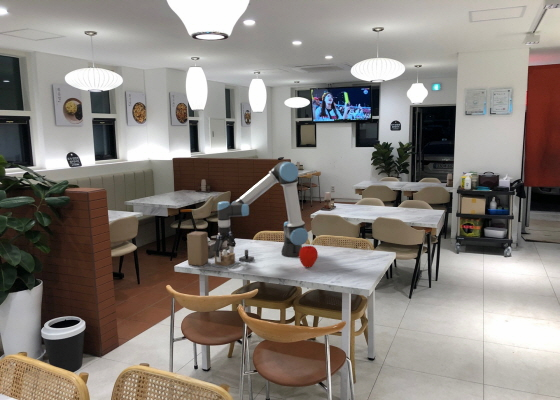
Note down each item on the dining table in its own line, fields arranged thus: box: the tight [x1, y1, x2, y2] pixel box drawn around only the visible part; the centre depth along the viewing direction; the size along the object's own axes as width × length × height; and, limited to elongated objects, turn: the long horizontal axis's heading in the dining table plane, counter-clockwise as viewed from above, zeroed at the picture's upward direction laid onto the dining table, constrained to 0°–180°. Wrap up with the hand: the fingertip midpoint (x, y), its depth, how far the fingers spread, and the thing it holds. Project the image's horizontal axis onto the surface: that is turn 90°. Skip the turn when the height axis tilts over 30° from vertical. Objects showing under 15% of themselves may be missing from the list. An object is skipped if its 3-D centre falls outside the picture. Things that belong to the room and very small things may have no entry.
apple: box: [299, 245, 319, 268], centre depth 276 cm, size 12×12×13 cm
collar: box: [214, 251, 236, 266], centre depth 283 cm, size 9×9×6 cm
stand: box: [238, 249, 255, 263], centre depth 292 cm, size 7×7×7 cm
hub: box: [209, 249, 241, 269], centre depth 283 cm, size 14×14×10 cm
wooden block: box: [186, 230, 209, 267], centre depth 285 cm, size 10×10×20 cm
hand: (225, 259), depth 284 cm, fingers open, 13 cm apart
